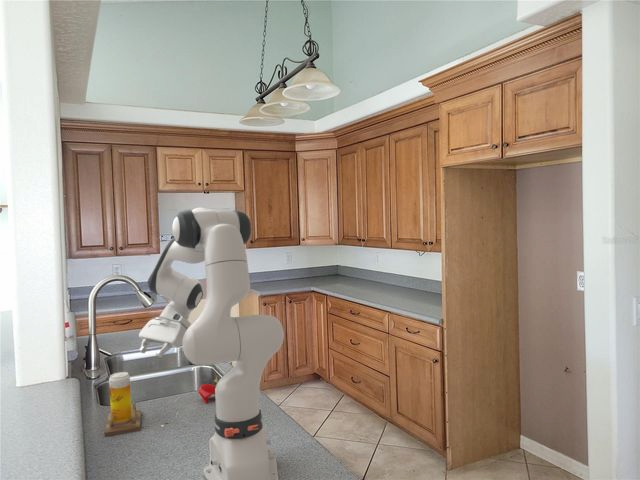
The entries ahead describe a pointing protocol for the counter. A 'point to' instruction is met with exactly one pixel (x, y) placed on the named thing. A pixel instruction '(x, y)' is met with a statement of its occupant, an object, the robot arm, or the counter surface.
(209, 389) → the cap
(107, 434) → the standoff plate
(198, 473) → the counter surface
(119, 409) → the glass of beer
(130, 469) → the counter surface
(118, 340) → the counter surface
